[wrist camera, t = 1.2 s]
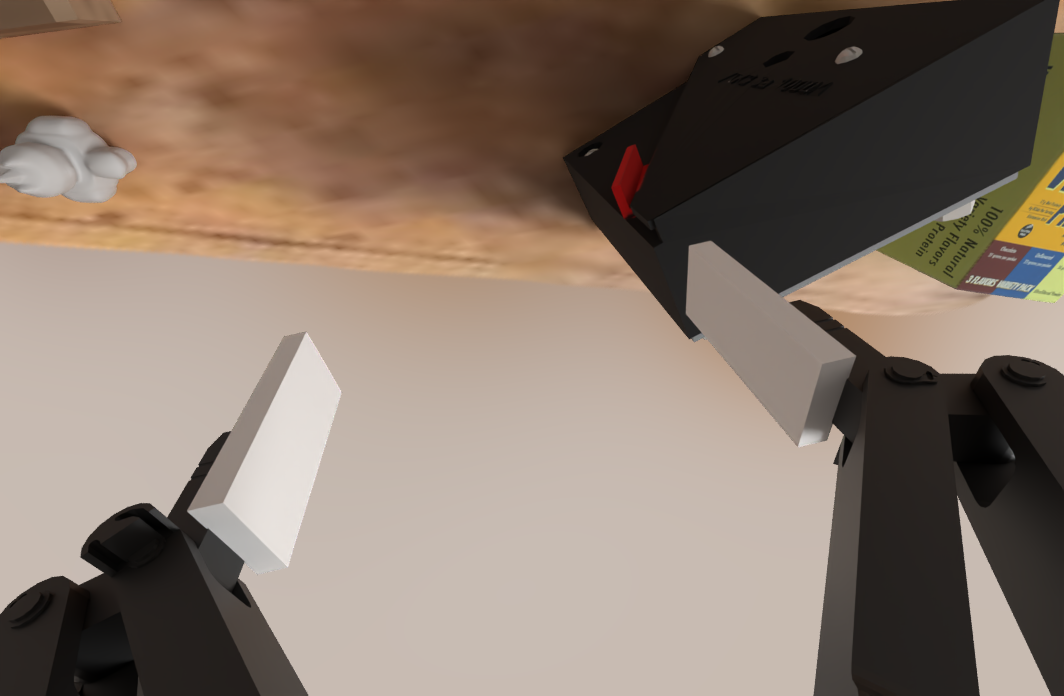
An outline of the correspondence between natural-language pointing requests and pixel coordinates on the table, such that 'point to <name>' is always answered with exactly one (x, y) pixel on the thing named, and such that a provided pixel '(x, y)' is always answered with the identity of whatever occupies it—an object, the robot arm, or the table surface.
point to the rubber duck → (64, 161)
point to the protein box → (1006, 220)
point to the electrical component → (821, 140)
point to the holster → (53, 15)
